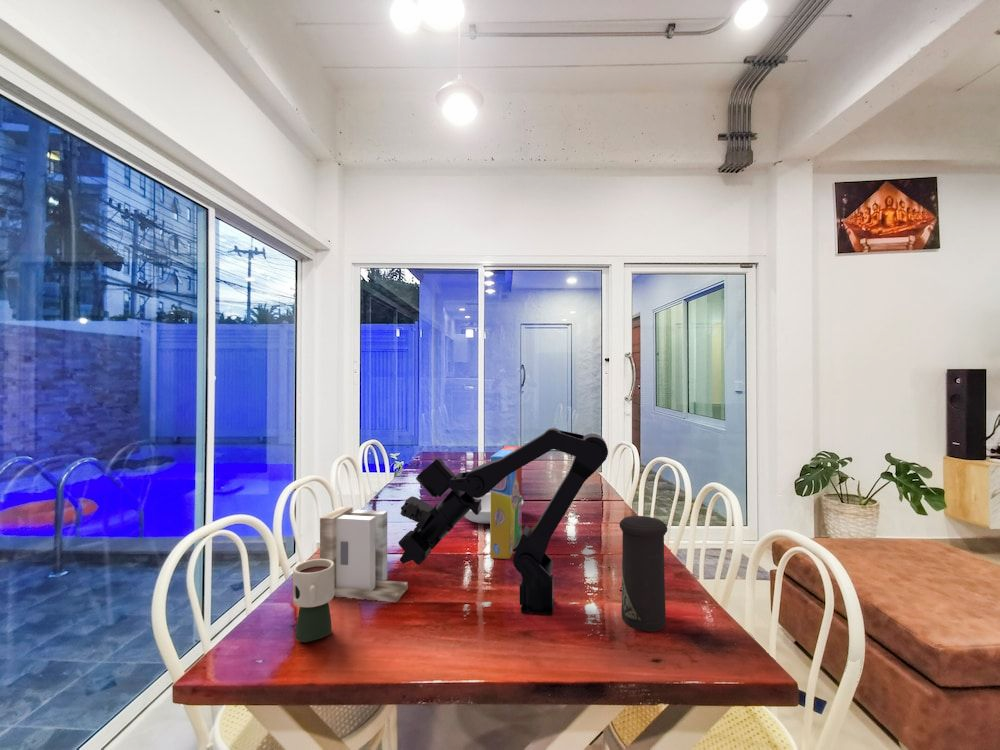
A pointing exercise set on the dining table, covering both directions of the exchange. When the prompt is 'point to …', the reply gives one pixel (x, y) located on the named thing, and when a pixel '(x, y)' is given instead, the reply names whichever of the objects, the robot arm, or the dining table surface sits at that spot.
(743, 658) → the dining table surface
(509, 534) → the game box
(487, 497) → the soup bowl
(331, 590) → the character mug
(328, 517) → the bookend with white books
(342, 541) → the door
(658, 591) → the container
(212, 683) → the dining table surface
